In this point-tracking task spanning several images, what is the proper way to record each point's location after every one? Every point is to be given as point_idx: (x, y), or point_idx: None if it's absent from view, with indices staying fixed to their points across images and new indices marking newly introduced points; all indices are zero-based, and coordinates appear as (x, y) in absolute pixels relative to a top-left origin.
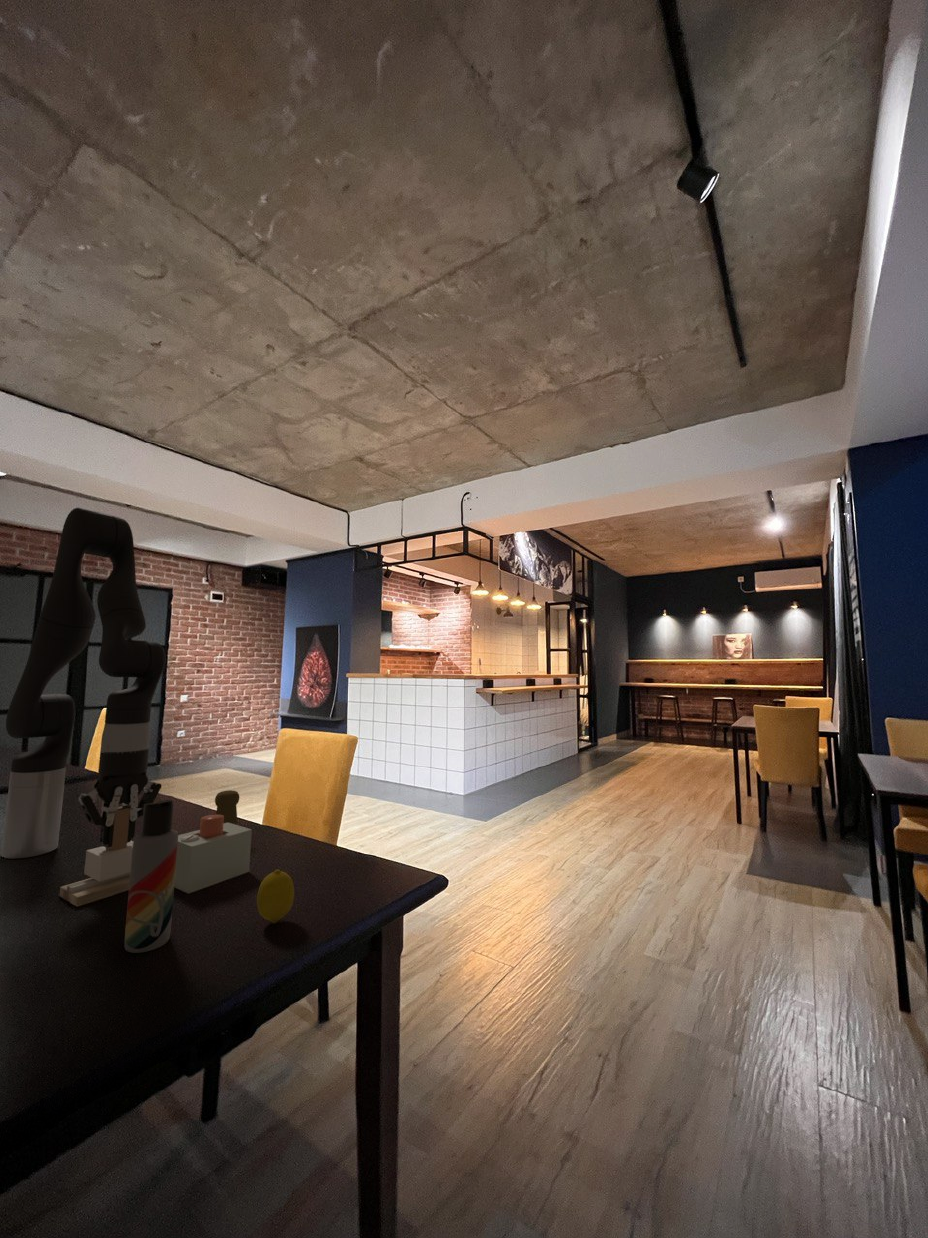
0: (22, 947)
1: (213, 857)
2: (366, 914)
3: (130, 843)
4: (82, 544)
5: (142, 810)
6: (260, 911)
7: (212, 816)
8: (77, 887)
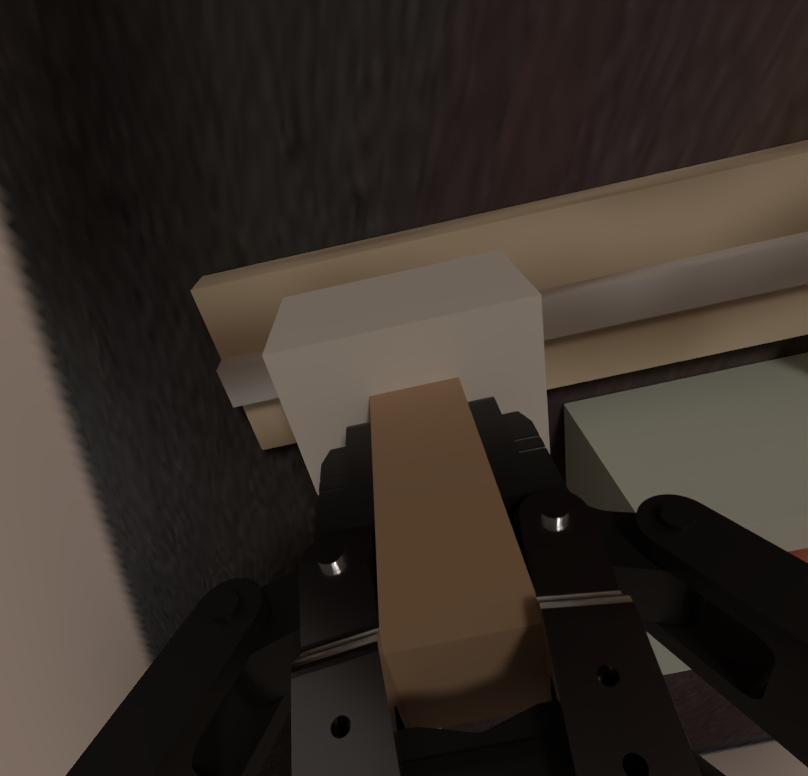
0: (147, 582)
1: None
2: (719, 744)
3: (514, 385)
4: None
5: (654, 632)
6: None
7: None
8: (257, 401)
